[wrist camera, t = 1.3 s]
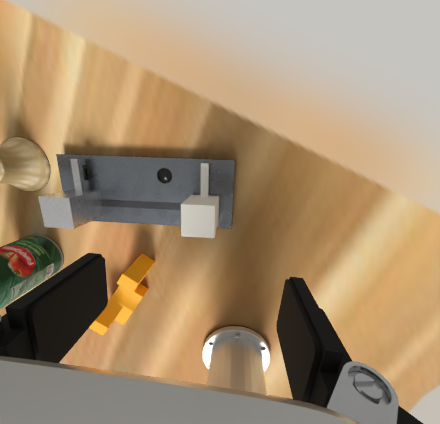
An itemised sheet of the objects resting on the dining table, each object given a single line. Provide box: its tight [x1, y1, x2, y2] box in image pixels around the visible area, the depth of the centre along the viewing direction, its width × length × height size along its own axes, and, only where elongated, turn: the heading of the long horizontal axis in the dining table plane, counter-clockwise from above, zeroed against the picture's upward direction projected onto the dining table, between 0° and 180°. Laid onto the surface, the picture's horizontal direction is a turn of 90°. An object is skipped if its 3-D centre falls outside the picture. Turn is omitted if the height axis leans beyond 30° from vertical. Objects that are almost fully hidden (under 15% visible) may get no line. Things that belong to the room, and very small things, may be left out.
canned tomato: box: [0, 234, 64, 309], centre depth 31 cm, size 8×8×11 cm
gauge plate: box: [38, 154, 235, 229], centre depth 28 cm, size 10×26×8 cm, turn 88°
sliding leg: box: [181, 163, 219, 238], centre depth 26 cm, size 8×4×6 cm, turn 178°
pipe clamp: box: [89, 253, 155, 336], centre depth 34 cm, size 12×4×6 cm, turn 145°
